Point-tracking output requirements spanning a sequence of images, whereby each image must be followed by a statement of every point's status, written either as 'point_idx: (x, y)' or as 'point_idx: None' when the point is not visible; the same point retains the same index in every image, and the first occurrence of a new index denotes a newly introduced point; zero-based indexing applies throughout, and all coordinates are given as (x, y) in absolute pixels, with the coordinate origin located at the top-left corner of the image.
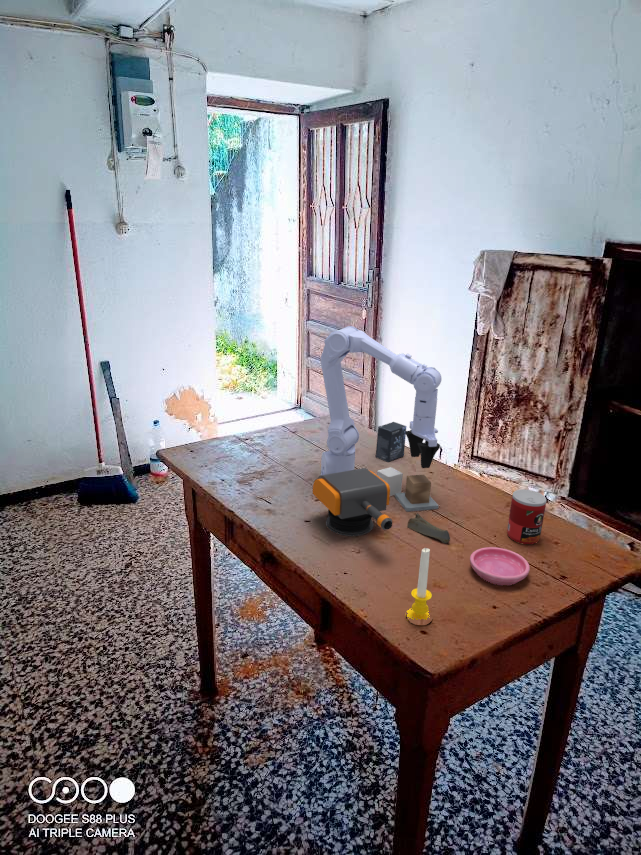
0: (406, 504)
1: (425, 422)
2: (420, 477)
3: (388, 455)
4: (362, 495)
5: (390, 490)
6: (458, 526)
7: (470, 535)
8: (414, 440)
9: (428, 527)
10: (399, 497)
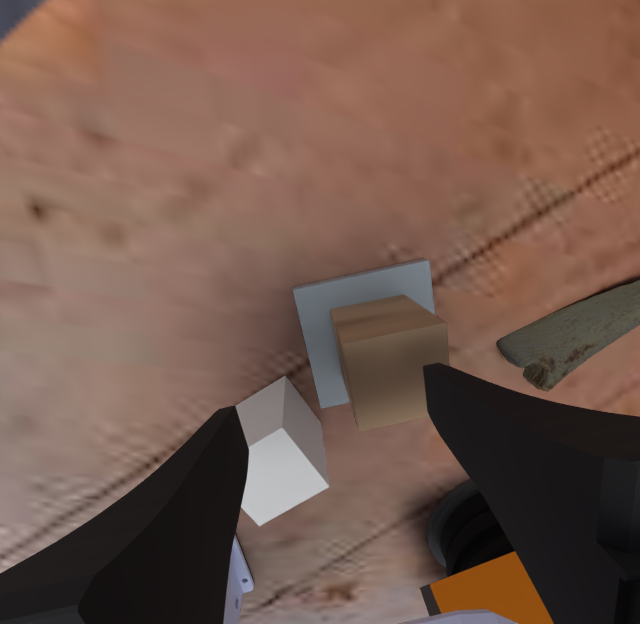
0: None
1: None
2: (381, 368)
3: None
4: None
5: (316, 429)
6: (562, 210)
7: (630, 181)
8: (207, 589)
9: (615, 339)
10: None
